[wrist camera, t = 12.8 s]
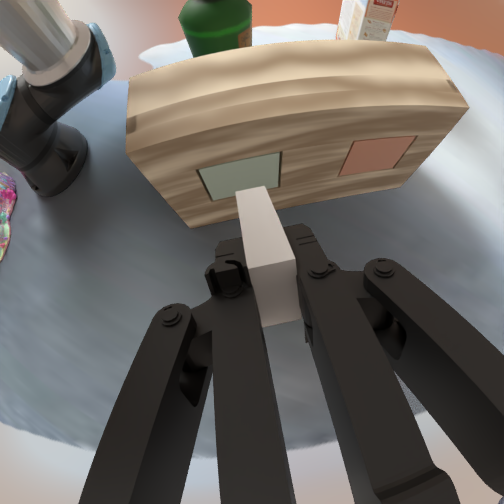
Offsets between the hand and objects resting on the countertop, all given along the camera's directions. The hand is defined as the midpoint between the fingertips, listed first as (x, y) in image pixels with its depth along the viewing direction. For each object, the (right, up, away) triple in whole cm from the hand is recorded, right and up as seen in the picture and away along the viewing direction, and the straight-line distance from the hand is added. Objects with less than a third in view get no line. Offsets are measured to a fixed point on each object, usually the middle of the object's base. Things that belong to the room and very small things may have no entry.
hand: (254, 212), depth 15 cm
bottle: (-4, +28, +34) cm, 44 cm away
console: (+6, +10, +29) cm, 31 cm away
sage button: (-1, +7, +20) cm, 21 cm away
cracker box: (+22, +41, +35) cm, 58 cm away
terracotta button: (+14, +10, +20) cm, 27 cm away
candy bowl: (-62, +5, +32) cm, 70 cm away
